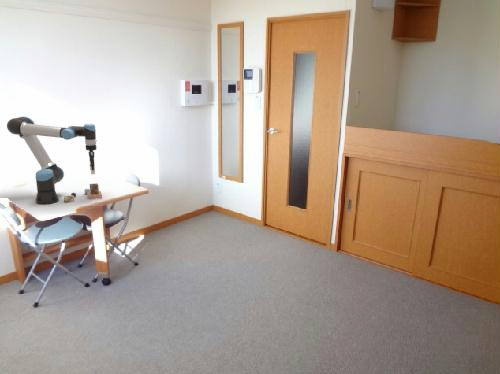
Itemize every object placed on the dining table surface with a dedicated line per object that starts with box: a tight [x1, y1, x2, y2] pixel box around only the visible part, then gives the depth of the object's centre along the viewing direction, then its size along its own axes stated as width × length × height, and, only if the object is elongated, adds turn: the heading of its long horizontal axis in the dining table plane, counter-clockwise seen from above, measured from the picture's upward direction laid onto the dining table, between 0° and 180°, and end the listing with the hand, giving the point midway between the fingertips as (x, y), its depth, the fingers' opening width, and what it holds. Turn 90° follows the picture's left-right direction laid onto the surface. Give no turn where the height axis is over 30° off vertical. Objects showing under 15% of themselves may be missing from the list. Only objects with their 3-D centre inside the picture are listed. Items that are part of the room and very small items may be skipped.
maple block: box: [63, 194, 75, 204], centre depth 291 cm, size 6×4×4 cm, turn 134°
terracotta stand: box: [87, 190, 103, 200], centre depth 304 cm, size 10×10×3 cm
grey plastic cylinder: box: [83, 188, 90, 196], centre depth 310 cm, size 4×4×4 cm
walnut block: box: [89, 182, 100, 195], centre depth 303 cm, size 6×6×7 cm
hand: (92, 172), depth 299 cm, fingers open, 13 cm apart
